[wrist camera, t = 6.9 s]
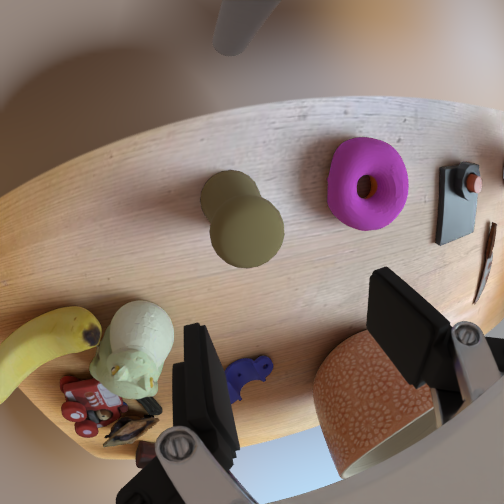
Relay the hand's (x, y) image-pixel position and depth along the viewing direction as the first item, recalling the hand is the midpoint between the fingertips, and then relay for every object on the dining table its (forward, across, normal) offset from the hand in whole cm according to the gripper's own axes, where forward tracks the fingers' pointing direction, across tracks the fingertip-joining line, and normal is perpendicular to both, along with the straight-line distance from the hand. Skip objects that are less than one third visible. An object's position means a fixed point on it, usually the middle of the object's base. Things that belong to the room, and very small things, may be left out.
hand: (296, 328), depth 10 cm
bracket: (+17, +4, +24) cm, 30 cm away
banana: (+20, +28, +9) cm, 35 cm away
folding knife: (+19, +19, +26) cm, 37 cm away
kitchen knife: (+20, -50, +24) cm, 59 cm away
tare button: (+17, -34, +3) cm, 39 cm away
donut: (+20, -15, +1) cm, 25 cm away
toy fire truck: (+15, +34, +23) cm, 44 cm away
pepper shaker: (+20, 0, 0) cm, 20 cm away
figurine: (+20, +16, +14) cm, 29 cm away
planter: (+20, -14, +31) cm, 39 cm away
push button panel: (+20, -34, +7) cm, 40 cm away
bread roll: (+19, +27, +37) cm, 49 cm away
